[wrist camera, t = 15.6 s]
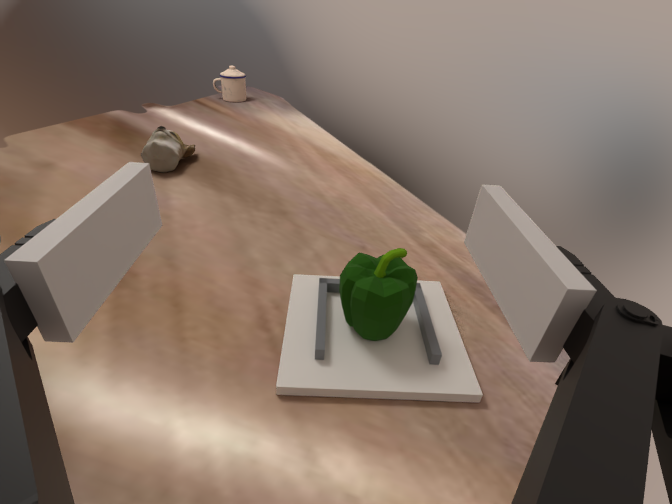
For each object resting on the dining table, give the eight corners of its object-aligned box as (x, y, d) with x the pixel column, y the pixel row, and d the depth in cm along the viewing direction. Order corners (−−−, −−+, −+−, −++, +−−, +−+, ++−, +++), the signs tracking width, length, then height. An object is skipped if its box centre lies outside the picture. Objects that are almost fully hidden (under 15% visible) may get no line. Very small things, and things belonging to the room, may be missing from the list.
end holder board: (276, 394, 36) (275, 376, 35) (293, 281, 52) (293, 265, 50) (479, 402, 37) (487, 385, 36) (437, 288, 52) (442, 272, 51)
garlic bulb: (122, 132, 73) (146, 118, 86) (132, 176, 77) (152, 156, 90) (180, 134, 75) (194, 120, 88) (186, 177, 79) (198, 157, 92)
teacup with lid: (248, 98, 147) (246, 65, 141) (245, 103, 139) (243, 68, 133) (216, 96, 146) (213, 63, 139) (212, 101, 138) (208, 66, 132)
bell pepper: (337, 351, 40) (344, 275, 35) (335, 300, 47) (340, 230, 41) (415, 352, 40) (434, 278, 35) (401, 302, 47) (416, 234, 42)
